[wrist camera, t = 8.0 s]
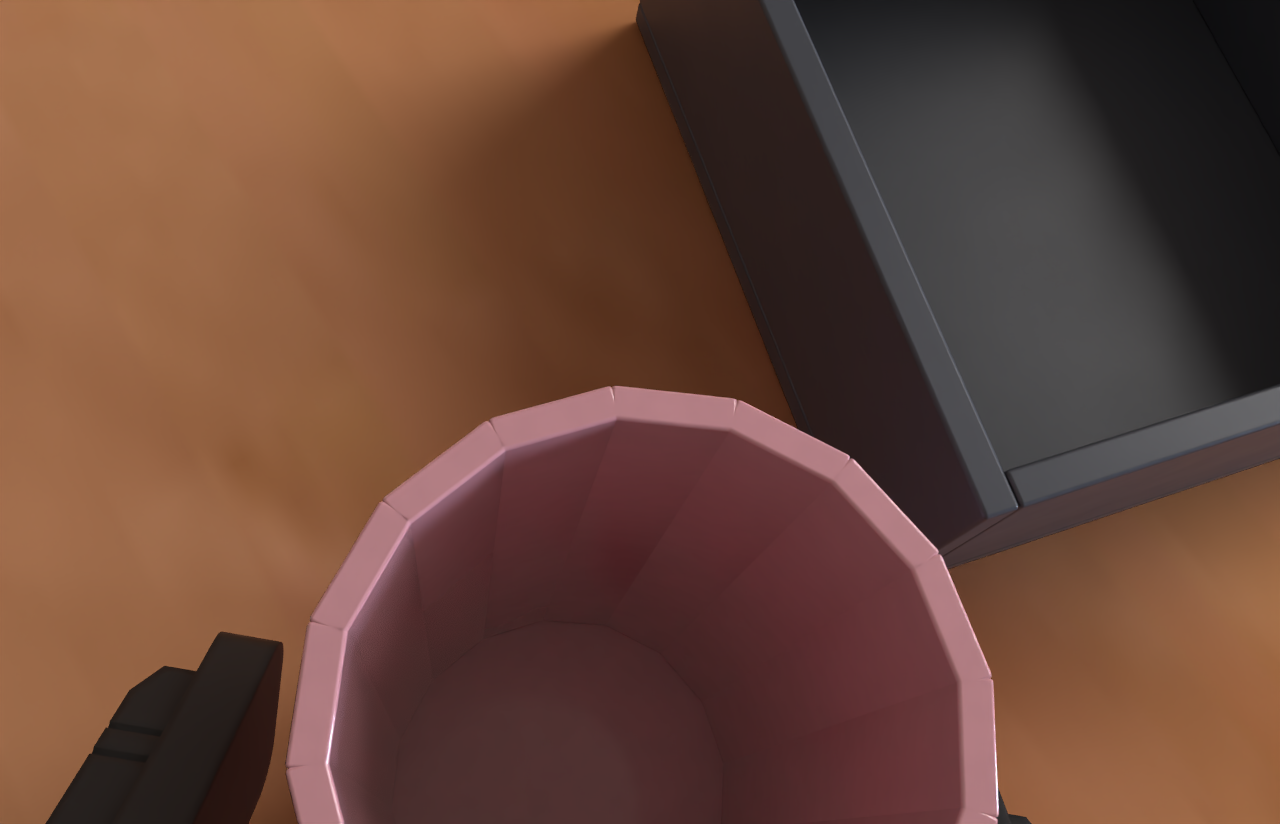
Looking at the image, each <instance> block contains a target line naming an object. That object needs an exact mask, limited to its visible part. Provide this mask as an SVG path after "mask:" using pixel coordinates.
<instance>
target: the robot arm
mask: <svg viewBox="0 0 1280 824" xmlns="http://www.w3.org/2000/svg"><path fill="white" fill-rule="evenodd" d="M282 663H283V643H282V642H278V641H272V640H266V639H261V638H255V637H249V636H244V635H238V634H232V633H227V632H220V633H219V634H218V635H217V636H216V638H215V639H214V641H213V643H212V645H211V646H210V648H209V650H208V652H207V654H206V655H205V657H204V659H203V661H202V663H201V664H200V666H199V668H198V670H197V671H191V670H186V669H180V668H174V667H168V666H164V667H162V668H161V669H159V670H158V671H156V672H155V673H154V674H152V675H151V676H149V677H148V678H146V679H145V680H144V681H142V682H141V683H139V684H138V685H136V686H135V687H133V688H132V689H131V690H129V692H128V693H127V695H126V697H125V698H124V700H123V701H122V703H121V705H120V706H119V708H118V709H117V711H116V713H115V714H114V716H113V717H112V719H111V720H110V724H109V727H108V728H105V730H104V732H103V733H102V735H101V736H100V738H99V740H98V741H97V743H96V744H95V746H94V749H93V752H92V754H89V755H88V757H87V759H86V760H85V762H84V763H83V765H82V767H81V768H80V770H79V771H78V773H77V775H76V776H75V778H74V779H73V781H72V783H71V784H70V786H69V787H68V789H67V790H66V792H65V794H64V795H63V797H62V798H61V800H60V802H59V803H58V805H57V806H56V808H55V810H54V811H53V813H52V814H51V816H50V818H49V819H48V821H47V822H46V824H249V821H250V819H251V816H252V814H253V812H254V809H255V807H256V804H257V802H258V800H259V797H260V795H261V792H262V789H263V786H264V783H265V780H266V776H267V773H268V769H269V765H270V760H271V755H272V750H273V744H274V736H275V727H276V718H277V709H278V699H279V690H280V681H281V672H282ZM998 806H999V815H998V817H997V818H996V819H997V820H998V823H997V824H1031V823H1030V821H1029V820H1028V819H1027V818H1026V817H1022V816H1016V815H1011V814H1008V813H1007V810H1006V808H1005V805H1004V802H1003V800H1002V797H1001V794H1000V792H999V789H998Z"/></svg>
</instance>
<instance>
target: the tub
mask: <svg viewBox="0 0 1280 824" xmlns="http://www.w3.org/2000/svg"><path fill="white" fill-rule="evenodd" d="M636 22H637V24H638V27H639V29H640V32H641V34H642V37H643V39H644V42H645V44H646V47H647V49H648V52H649V54H650V57H651V59H652V62H653V64H654V67H655V69H656V72H657V74H658V77H659V79H660V82H661V84H662V87H663V89H664V92H665V95H666V97H667V100H668V102H669V105H670V107H671V110H672V112H673V115H674V117H675V120H676V122H677V125H678V127H679V130H680V132H681V135H682V137H683V140H684V142H685V145H686V147H687V150H688V152H689V155H690V157H691V160H692V162H693V165H694V168H695V170H696V173H697V175H698V178H699V180H700V183H701V185H702V188H703V190H704V193H705V195H706V198H707V200H708V203H709V205H710V208H711V210H712V213H713V215H714V218H715V220H716V223H717V225H718V228H719V230H720V233H721V235H722V238H723V241H724V243H725V246H726V248H727V251H728V253H729V256H730V258H731V261H732V263H733V266H734V268H735V271H736V273H737V276H738V278H739V281H740V283H741V286H742V288H743V291H744V293H745V296H746V298H747V301H748V303H749V306H750V308H751V311H752V314H753V316H754V319H755V321H756V324H757V326H758V329H759V331H760V334H761V336H762V339H763V341H764V344H765V346H766V349H767V351H768V354H769V356H770V359H771V361H772V364H773V366H774V369H775V371H776V374H777V376H778V379H779V381H780V384H781V387H782V389H783V392H784V394H785V397H786V399H787V402H788V404H789V407H790V409H791V412H792V414H793V417H794V419H795V422H796V424H797V427H798V429H799V430H800V431H802V432H804V433H806V434H808V435H810V436H812V437H814V438H816V439H818V440H820V441H822V442H824V443H826V444H828V445H830V446H832V447H834V448H836V449H838V450H840V451H842V452H844V453H846V454H847V455H849V456H850V459H851V458H852V459H854V460H855V461H856V462H857V463H858V464H859V465H860V466H861V467H862V468H863V470H864V471H865V472H866V473H867V474H868V475H869V476H870V477H871V478H872V479H873V480H874V481H875V482H876V484H877V485H878V486H879V487H880V488H881V489H882V490H883V491H884V492H885V493H886V494H887V495H888V497H889V498H890V499H891V500H892V501H893V502H894V503H895V504H896V505H897V506H898V507H899V508H900V509H901V511H902V512H903V513H904V514H905V515H906V516H907V517H908V518H909V519H910V520H911V521H912V522H913V523H914V525H915V526H916V527H917V528H918V529H919V530H920V531H921V532H922V533H923V534H924V535H925V536H926V537H927V539H928V540H929V541H930V542H931V543H932V544H933V545H934V546H935V547H936V548H937V549H938V551H939V553H938V554H940V555H941V556H942V557H943V560H944V562H945V564H946V567H947V569H950V568H953V567H956V566H959V565H962V564H965V563H968V562H971V561H974V560H977V559H980V558H983V557H986V556H989V555H992V554H995V553H998V552H1001V551H1004V550H1007V549H1010V548H1013V547H1016V546H1019V545H1022V544H1025V543H1028V542H1031V541H1034V540H1037V539H1040V538H1043V537H1046V536H1049V535H1052V534H1055V533H1058V532H1061V531H1064V530H1067V529H1070V528H1073V527H1076V526H1079V525H1081V524H1084V523H1087V522H1090V521H1093V520H1096V519H1099V518H1102V517H1105V516H1108V515H1111V514H1114V513H1117V512H1120V511H1123V510H1126V509H1129V508H1132V507H1135V506H1138V505H1141V504H1144V503H1147V502H1150V501H1153V500H1156V499H1159V498H1162V497H1165V496H1168V495H1171V494H1174V493H1177V492H1180V491H1183V490H1186V489H1189V488H1192V487H1195V486H1198V485H1201V484H1204V483H1207V482H1210V481H1213V480H1216V479H1219V478H1222V477H1225V476H1228V475H1231V474H1234V473H1237V472H1240V471H1243V470H1246V469H1249V468H1252V467H1255V466H1258V465H1261V464H1264V463H1267V462H1270V461H1273V460H1276V459H1279V458H1280V0H640V4H639V7H638V11H637V16H636Z"/></svg>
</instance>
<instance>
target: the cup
mask: <svg viewBox="0 0 1280 824" xmlns="http://www.w3.org/2000/svg"><path fill="white" fill-rule="evenodd" d="M382 501H383V502H380V503H378V504H377V506H376V508H375V509H374V511H373V513H372V514H371V516H370V518H369V519H368V521H367V523H366V524H365V526H364V528H363V529H362V531H361V533H360V534H359V536H358V538H357V539H356V541H355V543H354V544H353V546H352V548H351V549H350V551H349V553H348V554H347V556H346V558H345V559H344V561H343V563H342V564H341V566H340V568H339V569H338V571H337V573H336V574H335V576H334V578H333V579H332V581H331V582H330V584H329V586H328V587H327V589H326V591H325V592H324V594H323V596H322V597H321V599H320V601H319V602H318V604H317V606H316V607H315V609H314V611H313V612H312V614H311V616H310V622H309V623H308V625H307V627H306V634H305V640H304V646H303V653H302V659H301V666H300V672H299V679H298V685H297V691H296V698H295V704H294V711H293V717H292V724H291V730H290V736H289V743H288V749H287V756H286V762H285V764H286V768H288V769H287V770H286V777H287V781H288V786H289V790H290V794H291V798H292V802H293V806H294V810H295V814H296V818H297V822H298V824H997V823H998V820H997V819H996V818H997V817H998V815H999V806H998V782H997V759H996V735H995V711H994V688H993V680H992V679H990V678H991V677H992V675H991V671H990V669H989V667H988V664H987V662H986V660H985V657H984V655H983V652H982V650H981V648H980V645H979V643H978V641H977V638H976V636H975V633H974V631H973V629H972V626H971V624H970V622H969V619H968V617H967V614H966V612H965V610H964V607H963V605H962V602H961V600H960V598H959V595H958V593H957V591H956V588H955V586H954V583H953V581H952V579H951V576H950V574H949V572H948V569H947V567H946V564H945V562H944V560H943V557H942V556H941V555H940V554H938V553H939V551H938V549H937V548H936V547H935V546H934V545H933V544H932V543H931V542H930V541H929V540H928V539H927V537H926V536H925V535H924V534H923V533H922V532H921V531H920V530H919V529H918V528H917V527H916V526H915V525H914V523H913V522H912V521H911V520H910V519H909V518H908V517H907V516H906V515H905V514H904V513H903V512H902V511H901V509H900V508H899V507H898V506H897V505H896V504H895V503H894V502H893V501H892V500H891V499H890V498H889V497H888V495H887V494H886V493H885V492H884V491H883V490H882V489H881V488H880V487H879V486H878V485H877V484H876V482H875V481H874V480H873V479H872V478H871V477H870V476H869V475H868V474H867V473H866V472H865V471H864V470H863V468H862V467H861V466H860V465H859V464H858V463H857V462H856V461H855V460H854V459H852V458H851V459H850V456H849V455H847V454H846V453H844V452H842V451H840V450H838V449H836V448H834V447H832V446H830V445H828V444H826V443H824V442H822V441H820V440H818V439H816V438H814V437H812V436H810V435H808V434H806V433H804V432H802V431H800V430H798V429H796V428H794V427H792V426H790V425H788V424H786V423H784V422H782V421H780V420H779V419H777V418H775V417H773V416H771V415H769V414H767V413H765V412H763V411H761V410H759V409H757V408H755V407H753V406H751V405H749V404H747V403H745V402H743V401H740V400H738V401H736V399H734V398H726V397H716V396H707V395H698V394H689V393H679V392H670V391H661V390H651V389H642V388H633V387H623V386H613V387H612V388H611V387H610V386H607V387H603V388H599V389H596V390H592V391H588V392H585V393H581V394H577V395H574V396H570V397H566V398H563V399H559V400H555V401H552V402H548V403H544V404H541V405H537V406H533V407H530V408H526V409H522V410H519V411H515V412H511V413H508V414H504V415H500V416H497V417H493V418H491V419H489V422H488V421H485V422H483V423H481V424H480V425H479V426H477V427H476V428H475V429H473V430H472V431H471V432H469V433H468V434H467V435H465V436H464V437H463V438H461V439H460V440H459V441H457V442H456V443H455V444H453V445H452V446H451V447H449V448H448V449H447V450H446V451H444V452H443V453H442V454H440V455H439V456H438V457H436V458H435V459H434V460H432V461H431V462H430V463H428V464H427V465H426V466H424V467H423V468H422V469H420V470H419V471H418V472H416V473H415V474H414V475H412V476H411V477H410V478H408V479H407V480H406V481H404V482H403V483H402V484H400V485H399V486H398V487H396V488H395V489H394V490H392V491H391V492H390V493H388V494H387V495H386V496H385V497H384V498H383V500H382Z"/></svg>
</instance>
